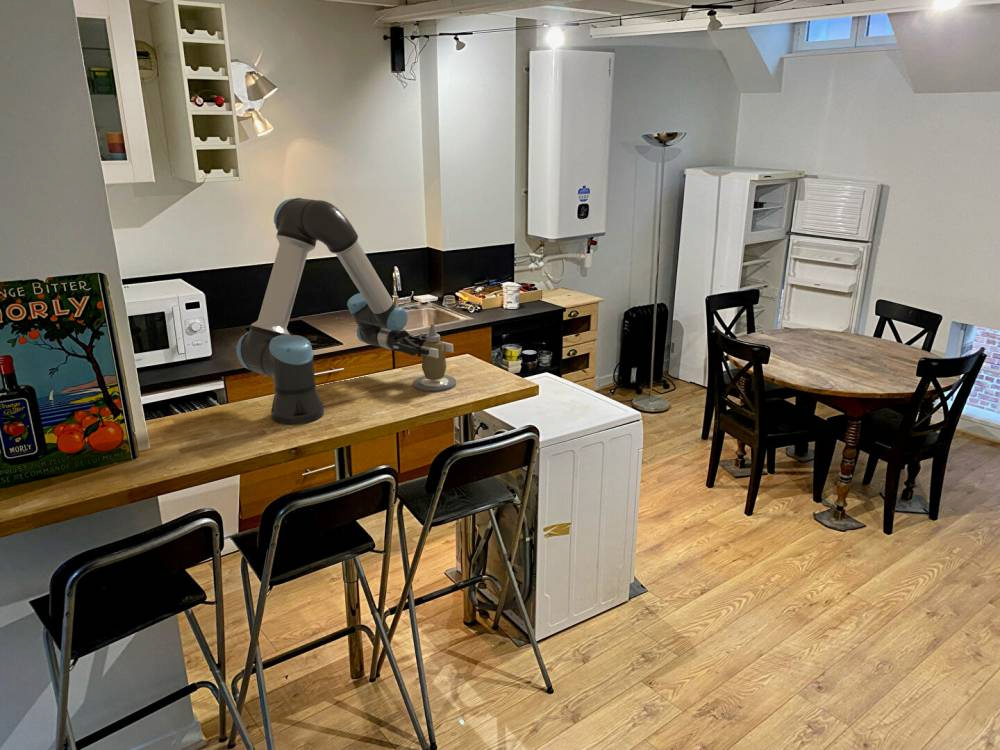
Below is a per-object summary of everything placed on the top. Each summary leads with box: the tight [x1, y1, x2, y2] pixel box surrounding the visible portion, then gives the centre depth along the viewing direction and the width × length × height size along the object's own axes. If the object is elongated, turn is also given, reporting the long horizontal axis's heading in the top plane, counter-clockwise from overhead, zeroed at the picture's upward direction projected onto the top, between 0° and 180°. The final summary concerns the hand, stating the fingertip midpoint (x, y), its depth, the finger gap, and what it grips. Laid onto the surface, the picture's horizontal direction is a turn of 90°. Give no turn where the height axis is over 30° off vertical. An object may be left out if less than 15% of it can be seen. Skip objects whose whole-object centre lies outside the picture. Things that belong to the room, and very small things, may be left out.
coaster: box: [412, 374, 457, 393], centre depth 248 cm, size 14×14×1 cm
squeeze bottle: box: [421, 323, 448, 380], centre depth 244 cm, size 8×8×18 cm
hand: (445, 351), depth 241 cm, fingers closed on squeeze bottle, 6 cm apart
